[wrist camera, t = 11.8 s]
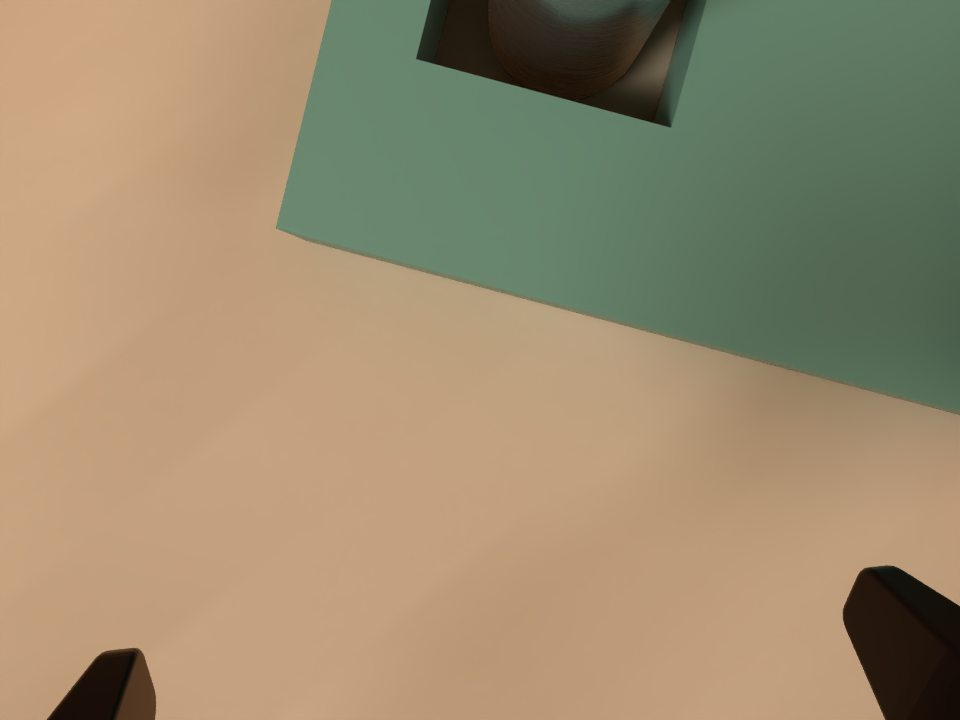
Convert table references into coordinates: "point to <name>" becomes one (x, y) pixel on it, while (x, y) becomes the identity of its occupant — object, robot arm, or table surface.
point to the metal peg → (570, 41)
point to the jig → (671, 182)
